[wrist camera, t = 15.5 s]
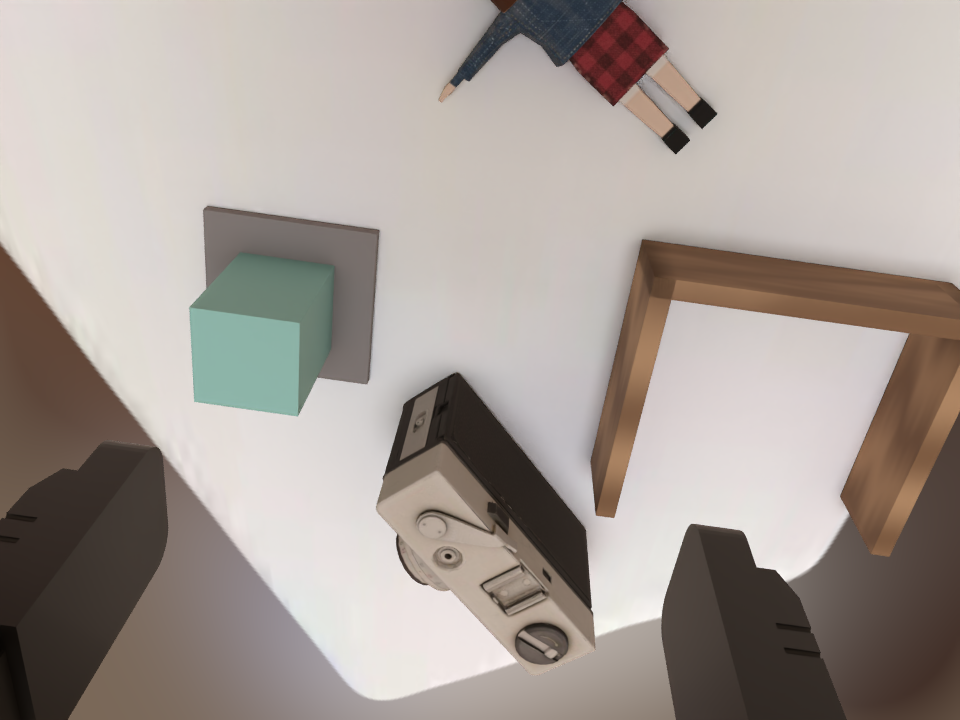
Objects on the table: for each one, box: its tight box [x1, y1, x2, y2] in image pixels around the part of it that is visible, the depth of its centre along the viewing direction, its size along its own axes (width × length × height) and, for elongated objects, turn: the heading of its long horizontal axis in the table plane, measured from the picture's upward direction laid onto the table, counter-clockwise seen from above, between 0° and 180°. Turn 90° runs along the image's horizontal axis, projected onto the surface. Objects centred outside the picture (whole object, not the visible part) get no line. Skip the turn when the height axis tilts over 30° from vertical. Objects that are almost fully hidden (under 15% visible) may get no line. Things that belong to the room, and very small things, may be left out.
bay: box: [591, 240, 960, 556], centre depth 42 cm, size 14×16×5 cm
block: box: [189, 252, 335, 416], centre depth 40 cm, size 5×5×7 cm
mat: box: [203, 206, 379, 384], centre depth 44 cm, size 9×9×1 cm
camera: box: [376, 374, 595, 676], centre depth 45 cm, size 14×8×10 cm, turn 35°
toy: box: [439, 0, 717, 154], centre depth 35 cm, size 14×5×15 cm
